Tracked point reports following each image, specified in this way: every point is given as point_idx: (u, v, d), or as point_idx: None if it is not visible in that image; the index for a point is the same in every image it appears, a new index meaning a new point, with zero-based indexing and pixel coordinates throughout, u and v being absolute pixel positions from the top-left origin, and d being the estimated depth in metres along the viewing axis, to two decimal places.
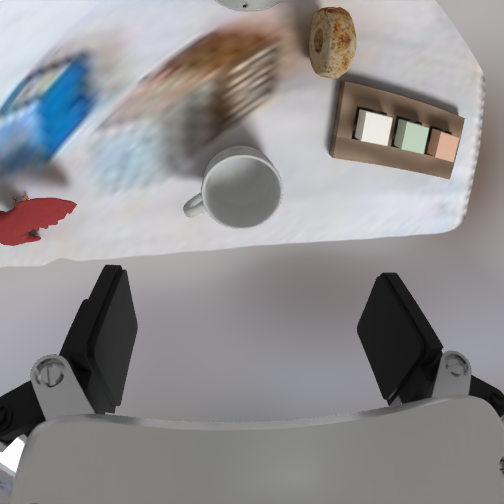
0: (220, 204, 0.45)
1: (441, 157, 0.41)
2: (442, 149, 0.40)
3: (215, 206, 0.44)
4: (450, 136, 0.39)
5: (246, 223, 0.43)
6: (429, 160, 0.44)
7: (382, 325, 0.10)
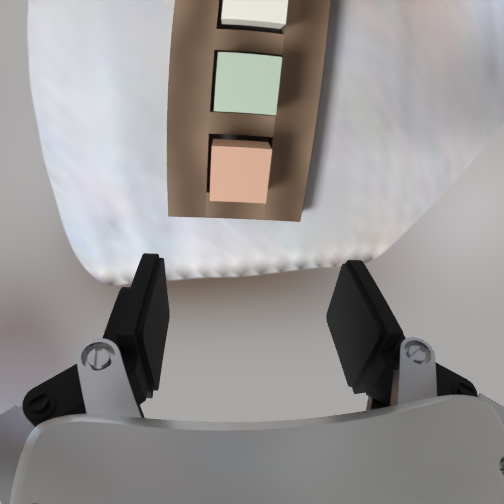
0: None
1: (214, 164, 0.22)
2: (232, 163, 0.22)
3: None
4: (265, 178, 0.23)
5: None
6: (197, 152, 0.24)
7: (346, 312, 0.11)
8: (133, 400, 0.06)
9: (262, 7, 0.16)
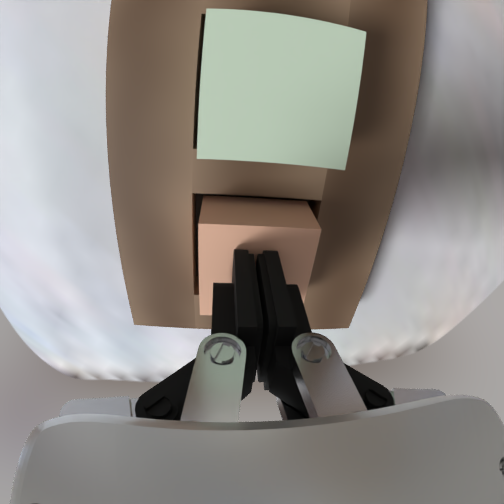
0: None
1: (205, 257, 0.11)
2: None
3: None
4: (304, 279, 0.12)
5: None
6: (171, 228, 0.13)
7: None
8: (238, 405, 0.06)
9: None
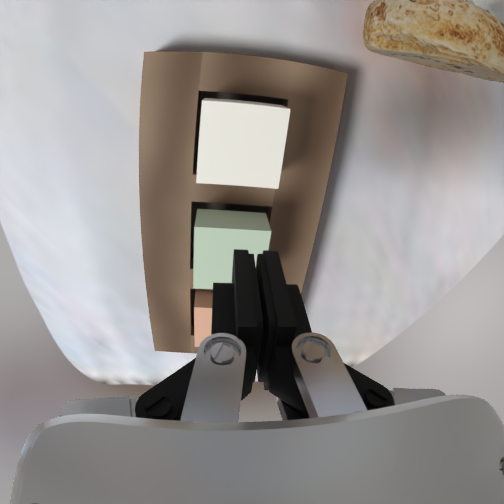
0: None
1: (197, 321, 0.22)
2: None
3: None
4: None
5: None
6: (179, 304, 0.23)
7: None
8: (238, 406, 0.06)
9: (249, 166, 0.16)
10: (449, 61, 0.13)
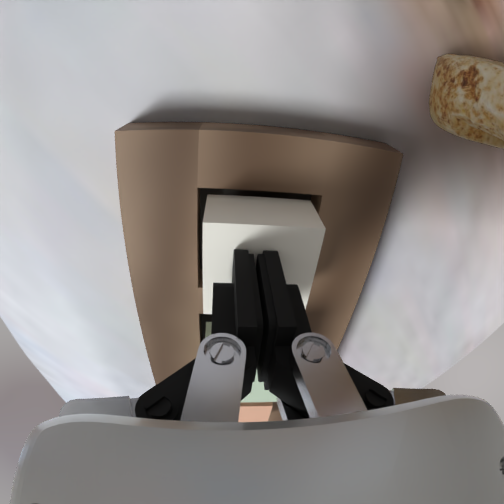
0: None
1: None
2: None
3: None
4: (265, 419, 0.20)
5: None
6: None
7: None
8: (238, 406, 0.06)
9: None
10: None
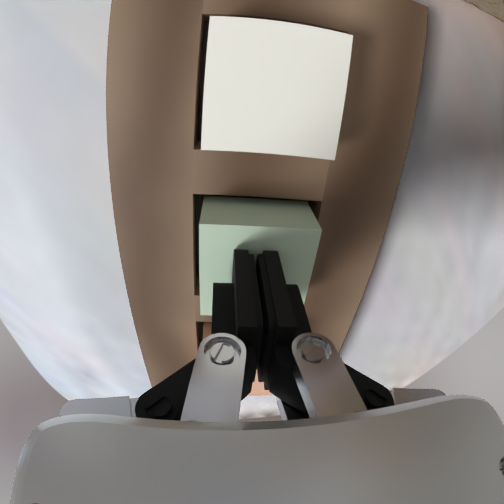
0: None
1: None
2: None
3: None
4: None
5: None
6: (181, 340, 0.16)
7: None
8: (238, 406, 0.06)
9: (289, 121, 0.09)
10: None
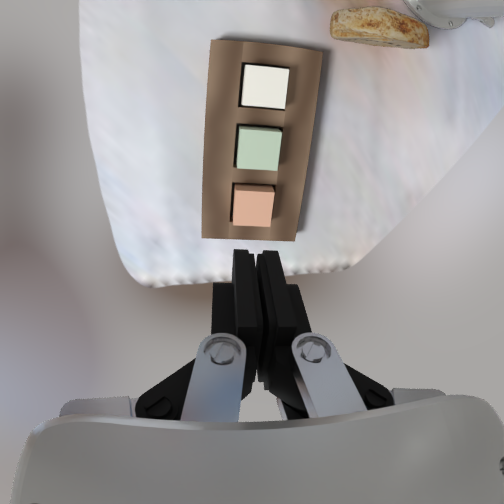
0: None
1: (236, 202, 0.35)
2: (249, 201, 0.35)
3: None
4: (270, 210, 0.36)
5: None
6: (223, 194, 0.36)
7: None
8: (238, 406, 0.06)
9: (269, 97, 0.29)
10: (382, 40, 0.25)
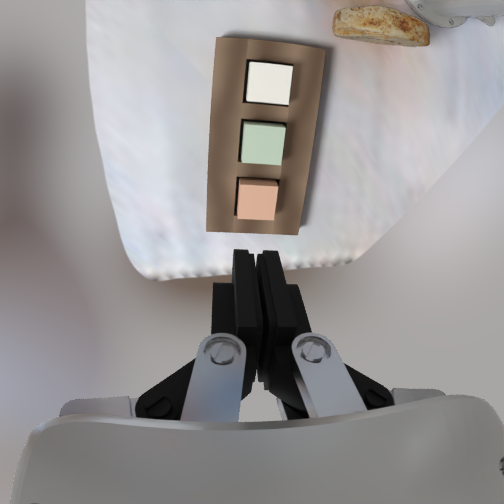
0: None
1: (241, 195, 0.35)
2: (253, 195, 0.35)
3: None
4: (274, 204, 0.36)
5: None
6: (228, 188, 0.36)
7: None
8: (238, 406, 0.06)
9: (273, 93, 0.29)
10: (384, 38, 0.25)
